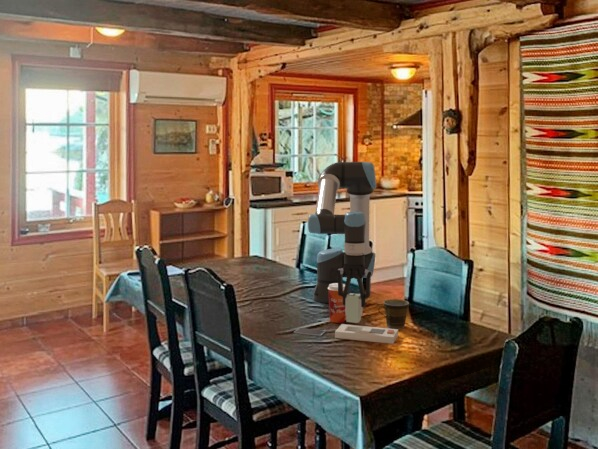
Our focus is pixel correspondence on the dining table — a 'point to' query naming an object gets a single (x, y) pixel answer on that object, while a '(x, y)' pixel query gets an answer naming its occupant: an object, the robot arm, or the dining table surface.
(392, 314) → the ceramic cup
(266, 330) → the dining table surface
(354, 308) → the block
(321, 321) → the dining table surface
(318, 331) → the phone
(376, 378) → the dining table surface
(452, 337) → the dining table surface
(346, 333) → the power strip
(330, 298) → the coffee cup
